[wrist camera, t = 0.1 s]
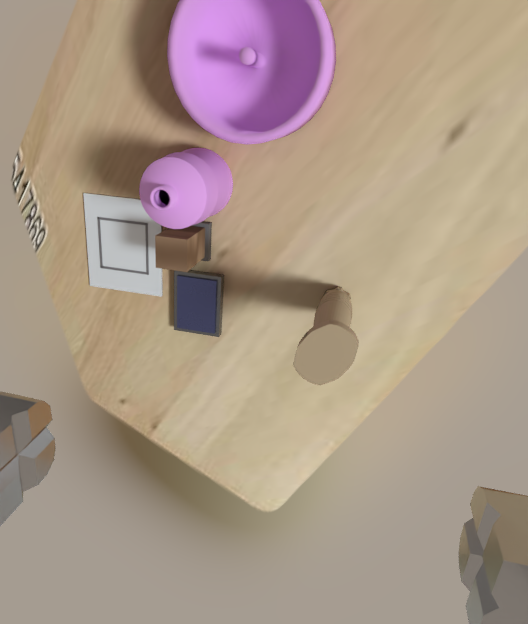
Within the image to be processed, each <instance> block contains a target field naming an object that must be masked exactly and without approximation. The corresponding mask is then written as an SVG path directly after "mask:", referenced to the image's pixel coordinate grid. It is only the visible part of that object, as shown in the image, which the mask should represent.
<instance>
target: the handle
mask: <svg viewBox="0 0 528 624" xmlns="http://www.w3.org/2000/svg"><path fill="white" fill-rule="evenodd" d="M350 299H351V297H350V294H349V293H347V292H345V291H344V290H343V289H342V287H337V288H335V289H333V290H327V291H326V292H325V293H324V295H323V298H322V299H321V301H320V303H319V305H318V307H317V310H316V313H315V319H314V326H313V328H311V329H310V330H309V331H308V332H307V333H306V334H305V335H304V337H303V338H302V339H301V341H300V342H299V345H298V347H297V350H296V354H295V358H294V363H293V365H294V368H295V370H296V371H297V373H298V374H299V375H300V376H301V377H302V378H304V379H305V380H307V381H308V382H310V383H313V384H317V385H323V384H325V383H328V382H331V381H334V380H336V379H338V378H339V377H340V376H342V375H343V374H344V373H345V372H346V371H347V370H348V369H349V368H350V366H351V365H352V364H353V361H354V359H355V356H356V353H357V349H358V339H357V336H356V334H355V333H354V332H353V330H352V329H351V328H349V327H350V324H351V319H352V304H351V301H350Z"/></svg>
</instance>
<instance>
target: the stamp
mask: <svg viewBox="0 0 528 624" xmlns="http://www.w3.org/2000/svg"><path fill="white" fill-rule="evenodd" d="M211 227H212V222H204V221H202V222H200V223H198V224H195V225H191V226H189V227H186V228H183V229H171V228H168V229H166V230H164V231H163V232H161V233H159V234H157V235H155V254H156V268H161V269H168V270H176V271H183V272H188V271H189V270H190V269H191V268H192V267H193V266H195V265H196V264H197V263H198V262H199V261H201V260H202V261H209V260H210V259H211Z"/></svg>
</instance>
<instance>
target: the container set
mask: <svg viewBox="0 0 528 624" xmlns="http://www.w3.org/2000/svg"><path fill="white" fill-rule="evenodd" d="M167 58H168V65H169V72H170V76H171V80H172V83H173V86H174V89H175V92H176V94H177V96H178V98H179V100H180V101H181V103H182V105H183V107H184V108H185V109H186V111H187V112H188V113H189V115H190V116H191V117H192V119H193V120H195V121H196V122H197V123H198V124H199V125H200V126H201V127H202V128H203V129H205V130H206V131H208V132H210V133H211V134H213V135H215V136H216V137H218V138H221V139H224V140H227V141H229V142H233V143H241V144H256V143H263V142H267V141H271V140H274V139H278V138H281V137H284V136H287V135H289V134H291V133H293V132H295V131H297V130H298V129H300V128H301V127H302V126H304V125H305V124H306V123H307V122H308V121H310V120H311V119H312V118H313V116H314V115H315V114H316V113H317V111H318V110H319V109H320V108H321V106H322V104H323V102H324V101H325V99H326V97H327V95H328V93H329V90H330V87H331V84H332V81H333V78H334V71H335V65H336V45H335V40H334V35H333V30H332V27H331V24H330V22H329V20H328V17H327V15H326V12H325V11H324V9H323V7H322V5H321V3H320V1H319V0H180V1H179V2H178V4H177V7H176V9H175V12H174V15H173V17H172V20H171V24H170V29H169V35H168V48H167ZM232 189H233V181H232V175H231V171H230V169H229V167H228V165H227V164H226V162H225V161H224V160H223V159H222V158H221V157H220V156H219V155H218V154H216V153H215V152H213V151H211V150H209V149H206V148H190V149H187V150H184V151H182V152H175V153H172V154H168V155H167V156H165V157H163V158H161V159H158V160H156V161H154V162H153V163H151V164H150V165H149V166H148V167H147V169H146V170H145V171H144V173H143V176H142V178H141V182H140V187H139V194H140V200H141V203H142V206H143V208H144V210H145V211H146V213H147V214H148V215H149V217H150V218H152V219H153V220H154V221H155V222H157V223H158V224H160V225H162V226H164V227H167V228H171V229H183V228H186V227H189V226H191V225H195V224H198V223H200V222H202V221H204V220H205V219H206V218H207V217H209V216H213V215H215V214H217V213H218V212H219V211H221V210H222V209H223V208H224V207H225V206H226V204H227V203H228V201H229V199H230V197H231V194H232Z"/></svg>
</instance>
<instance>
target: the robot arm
mask: <svg viewBox="0 0 528 624" xmlns="http://www.w3.org/2000/svg"><path fill="white" fill-rule="evenodd" d="M51 421H52V414H51V408H50V405H48V404H47V403H46V402H45V401H42V400H37V399H33V398H28V397H24V396H19V395H15V394H10V393H6V392H0V526H1V525H2V524H3V523H4V521H6V519H7V518H8V517H9V516H10V515H11V514H12V513H13V512H14V511H15V510H16V508H17V507H18V506H19V505H20V504H21V503H22V502H23V491H26V490H28V489H30V488H32V487H34V486H37V485H38V484H39V483H40V482H41V481H42V480H43V479H44V477H45V476H46V475H47V474H48V471H49V469H50V467H51V465H52V463H53V461H54V456H55V438H54V437H53V435H52V434H51V433H50V431H49V430H48V429H47V426H48V425H49V423H50V422H51ZM470 506H471V510H472V514H473V518H472V519H471V520H469V521H467V522H466V523H465V524H464V526H463V530H462V533H461V537H460V545H459V569H460V576H461V581H462V582H463V584H464V585H465V586H466V587H467V588H468V590H469V591H470V594H469V598H468V600H467V603H466V609H467V615H468V620H469V624H528V496H526V495H521V494H516V493H511V492H506V491H500V490H495V489H490V488H484V487H479V486H478V487H477V489H476V490H475V492H474V494H473V497H472V500H471V503H470Z"/></svg>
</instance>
